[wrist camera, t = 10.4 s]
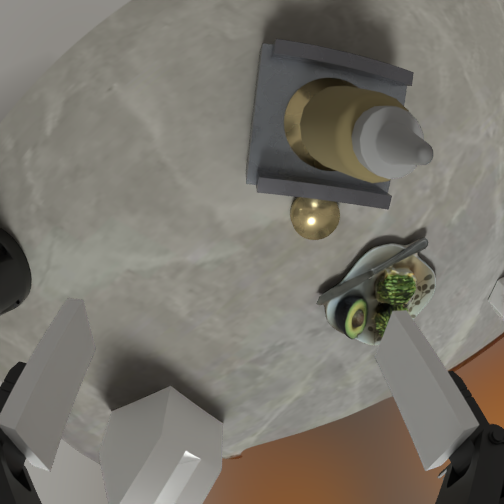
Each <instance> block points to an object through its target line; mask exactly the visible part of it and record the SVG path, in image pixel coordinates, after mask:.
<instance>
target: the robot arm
mask: <svg viewBox="0 0 504 504" xmlns="http://www.w3.org/2000/svg"><path fill="white" fill-rule="evenodd" d="M30 289H31V274H30V270H29V266H28V263H27V261H26V258H25V256H24V254H23V252H22V250H21V249H20V247H19V246H18V244H17V243H16V242H15V241H14V239H13V238H12V237H11V236H10V235H9V234H8V233H6V232H5V231H4V230H2V229H0V315H2V314H4V313H6V312H8V311H10V310H13V309H15V308H16V307H18V306H19V305H20V304H21V303H22V302H23V301H24V300H25V299H26V298H27V296H28V295H29V292H30ZM95 350H96V347H95V343H94V340H93V336H92V332H91V329H90V325H89V321H88V317H87V313H86V309H85V305H84V300H82V299H73V298H68V299H67V300H66V302H65V303H64V305H63V306H62V308H61V309H60V311H59V312H58V314H57V315H56V317H55V318H54V320H53V321H52V323H51V324H50V326H49V328H48V329H47V331H46V332H45V334H44V336H43V337H42V339H41V340H40V342H39V344H38V345H37V347H36V349H35V350H34V352H33V354H32V356H31V357H30V359H29V361H28V362H27V363H23V362H18V363H17V364H16V365H15V366H14V367H13V368H11V369H10V371H9V372H8V374H7V376H6V378H5V379H4V382H3V383H2V385H1V387H0V504H42V503H41V501H40V499H39V497H38V495H37V492H36V490H35V488H34V486H33V483H32V481H31V479H30V476H29V474H28V471H27V469H26V467H25V466H24V462H25V459H27V460H28V461H29V462H30V463H31V464H32V465H33V466H36V467H38V468H41V469H44V470H47V471H51V468H52V465H53V462H54V459H55V455H56V452H57V449H58V446H59V443H60V440H61V437H62V434H63V431H64V429H65V426H66V423H67V420H68V417H69V415H70V412H71V409H72V407H73V404H74V401H75V399H76V396H77V394H78V391H79V388H80V386H81V383H82V381H83V378H84V376H85V374H86V371H87V369H88V366H89V364H90V362H91V359H92V357H93V354H94V352H95ZM375 359H376V361H377V363H378V365H379V367H380V369H381V371H382V373H383V375H384V377H385V380H386V382H387V384H388V386H389V388H390V390H391V392H392V395H393V397H394V399H395V401H396V403H397V405H398V408H399V410H400V412H401V415H402V417H403V419H404V421H405V424H406V426H407V428H408V431H409V433H410V435H411V437H412V440H413V442H414V445H415V447H416V450H417V452H418V454H419V457H420V459H421V462H422V464H423V467H424V469H425V471H427V470H430V469H433V468H436V467H438V466H441V465H442V464H443V463H444V462H445V461H446V460H447V459H448V458H449V459H450V461H451V463H450V464H449V465H448V466H447V467H446V468H445V469H444V470H443V471H442V472H441V473H440V474H439V476H438V478H440V477H442V476H443V475H444V474H445V473H446V474H445V477H444V478H443V484H442V486H441V489H440V492H439V495H438V498H437V501H436V503H435V504H504V429H503V428H502V427H500V426H498V425H495V424H489V423H488V421H487V420H486V418H485V416H484V414H483V413H482V411H481V409H480V408H479V406H478V404H477V403H476V401H475V399H474V398H473V397H471V396H472V395H471V393H470V391H469V390H467V387H466V385H465V383H464V382H463V380H462V379H461V378H460V377H459V376H458V375H457V374H456V373H454V372H453V371H449V372H448V371H447V370H446V368H445V367H444V365H443V363H442V362H441V360H440V359H439V357H438V356H437V354H436V353H435V351H434V350H433V348H432V347H431V345H430V344H429V342H428V341H427V339H426V338H425V336H424V335H423V333H422V332H421V330H420V329H419V327H418V326H417V325H416V323H415V322H414V320H413V319H412V317H411V316H410V315H409V313H408V312H407V310H405V311H392V314H391V317H390V319H389V322H388V324H387V327H386V330H385V332H384V335H383V337H382V340H381V342H380V344H379V347H378V349H377V352H376V354H375Z"/></svg>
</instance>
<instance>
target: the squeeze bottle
mask: <svg viewBox="0 0 504 504" xmlns="http://www.w3.org/2000/svg"><path fill="white" fill-rule="evenodd" d="M300 130H301V137H302V142H303V143H304V145H305V147H306V149H307V150H308V152H309V154H310V155H311V156H312V157H313V158H314V159H316V160H317V161H318V162H320V163H321V164H322V165H323V166H326V167H328V168H331V169H334V170H336V171H339V172H342V173H344V174H347V175H349V176H352V177H354V178H357V179H360V180H364V181H367V182H370V183H378V182H386V181H390V180H391V179H397V178H402V177H404V176H406V175H407V174H409V173H411V172H412V171H413V170H414V169H415V168H416V166H417V165H427V164H428V163H430V162H431V160H432V158H433V149H432V147H431V146H430V145H429V144H428V143H427V142H426V141H424V134H423V132H422V129H421V127H420V125H419V122H418V121H417V120H416V119H415V118H414V117H413V116H412V114H411V113H410V112H409V111H408V110H407V109H406V108H405V107H404V106H403V105H402V104H401V103H400V102H399V101H398V100H397V99H396V98H393V97H391V96H388V95H386V94H384V93H381V92H376V91H372V90H366V89H361V88H356V87H350V86H333V87H327V88H325V89H324V90H322V91H320V92H318V93H316V94H314V95H313V97H312V98H311V99H310V100H309V102H308V103H307V104H306V106H305V107H304V109H303V113H302V117H301V121H300Z"/></svg>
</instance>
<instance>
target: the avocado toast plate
mask: <svg viewBox="0 0 504 504" xmlns="http://www.w3.org/2000/svg"><path fill="white" fill-rule="evenodd" d="M427 246H428V240H427V239H426V238H420V239H418V240H416V241H415V242H413V243H411V244H408V245H399V244H395V243H390V244H385V245H381V246H377V247H373V248H372V249H370V250H369V251H368V252H366V253H365V254H364V255H363V256H362V257H361V258H360V259H359V260H358V261H357V262H356V263H355V265H354V266H353V267H352V269H351V270H350V271H349V272H348V274H347V275H346V276H345V277H344V279H343V280H342V281H341V282H340V283H339V284H338V285H336V286H335V287H333V288H331V289H330V290H328V291H327V292H325V293H324V294H323V295H321V296H320V297H319V299H318V301H317V303H316V304H318V305H324V307H325V313H326V318H327V320H328V322H329V324H330V325H331V326H332V327H333V328H334V329H336V330H337V331H339V332H341V333H343V334H345V335H346V336H347V337H349V338H351V339H356V340H358V341H360V342H363V343H365V344H368V345H379V344H380V342H381V340H382V337H383V335H384V332H385V330H386V327H387V324H388V322H389V319H390V317H391V314H392V311H405V310H407V312H408V313H409V315H410V316H411V317H412V319H414V318H415V317H416V316H417V315H418V314H419V313H420V312H421V311H422V310H423V308H424V307H425V306H426V305H427V303H428V302H429V301H430V299H431V298H432V296H433V294H434V292H435V287H436V275H435V272H434V271H433V269H431V268H430V267H429V266H428V264H427V263H426V262H424V261H423V260H422V259H420V258H419V256H418V254H417V253H418V252H420V251H422V250H423V249H425V248H426V247H427ZM370 277H372V278H370ZM368 278H370V279H368ZM415 285H416V286H415ZM414 293H415V294H414ZM413 294H414V297H413V298H412V301H411V302H410V304H409V305H408V306H407V308H405V307H404V305H403V304H407V303H408V301H409V300H410V299H411V297H412V296H413ZM380 303H381V304H380ZM379 304H380V305H379Z"/></svg>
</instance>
